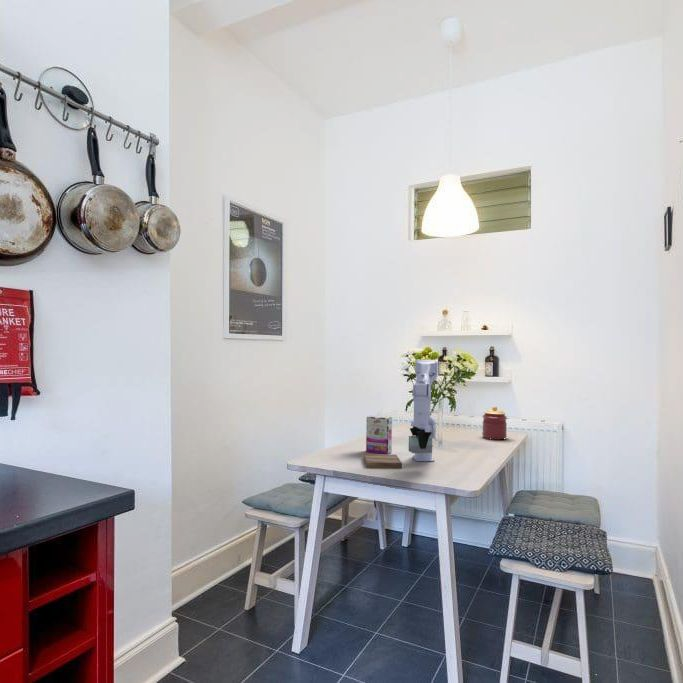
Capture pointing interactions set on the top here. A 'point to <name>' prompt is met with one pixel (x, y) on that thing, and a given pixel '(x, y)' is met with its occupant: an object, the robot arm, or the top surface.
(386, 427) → the candy bar box
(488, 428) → the canister
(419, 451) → the housing
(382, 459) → the stand
